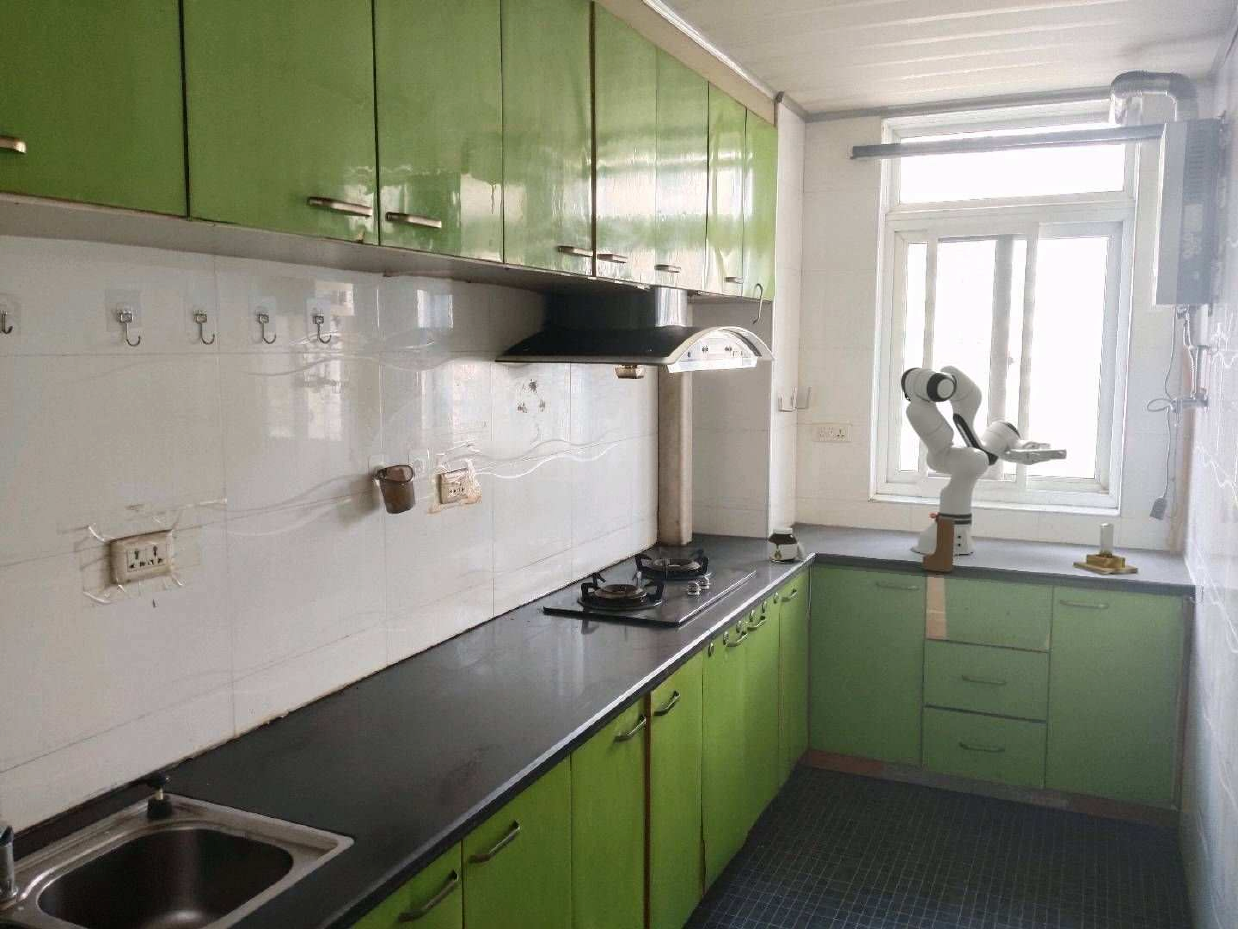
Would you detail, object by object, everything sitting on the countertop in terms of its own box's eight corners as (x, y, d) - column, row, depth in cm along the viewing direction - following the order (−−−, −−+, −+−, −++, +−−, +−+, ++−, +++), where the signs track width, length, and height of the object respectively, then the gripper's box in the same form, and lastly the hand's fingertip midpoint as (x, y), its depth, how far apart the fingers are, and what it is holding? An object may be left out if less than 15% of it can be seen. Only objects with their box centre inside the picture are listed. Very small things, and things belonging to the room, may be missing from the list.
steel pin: (1104, 566, 334) (1106, 525, 333) (1096, 564, 338) (1097, 523, 337) (1114, 565, 335) (1116, 524, 334) (1106, 563, 339) (1108, 522, 338)
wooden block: (921, 569, 336) (923, 516, 334) (926, 567, 340) (928, 515, 338) (948, 573, 331) (950, 519, 329) (953, 570, 334) (955, 517, 332)
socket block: (1101, 574, 328) (1102, 561, 328) (1073, 566, 342) (1073, 553, 342) (1137, 572, 332) (1138, 559, 331) (1108, 564, 345) (1108, 551, 345)
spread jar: (763, 560, 351) (764, 527, 350) (785, 556, 358) (785, 524, 357) (790, 566, 342) (790, 532, 341) (811, 561, 349) (812, 528, 348)
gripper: (1002, 445, 362) (1026, 448, 349) (1051, 443, 367) (1077, 446, 354) (1002, 462, 363) (1026, 466, 350) (1050, 460, 368) (1076, 464, 355)
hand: (1052, 456), depth 352 cm, fingers open, 8 cm apart
